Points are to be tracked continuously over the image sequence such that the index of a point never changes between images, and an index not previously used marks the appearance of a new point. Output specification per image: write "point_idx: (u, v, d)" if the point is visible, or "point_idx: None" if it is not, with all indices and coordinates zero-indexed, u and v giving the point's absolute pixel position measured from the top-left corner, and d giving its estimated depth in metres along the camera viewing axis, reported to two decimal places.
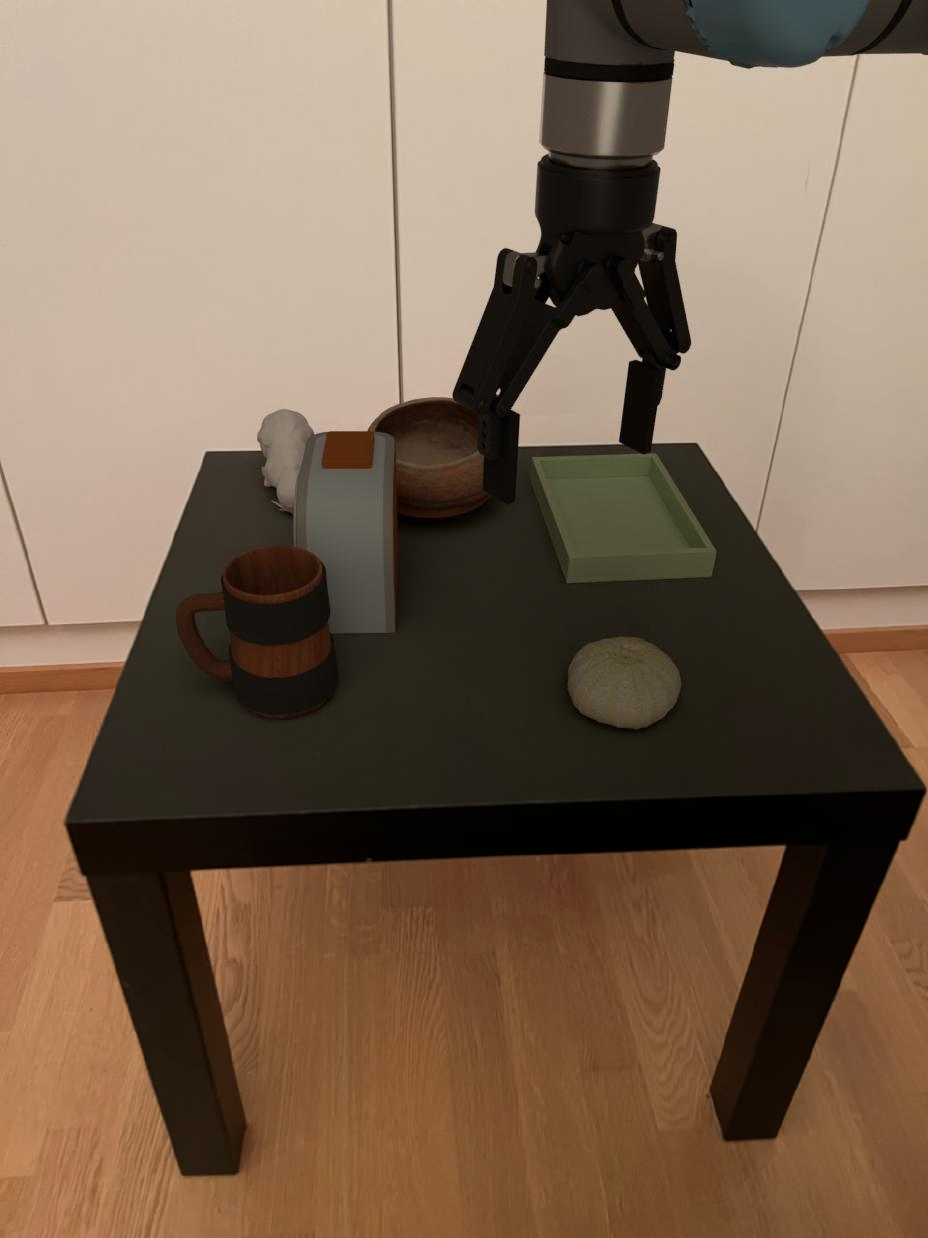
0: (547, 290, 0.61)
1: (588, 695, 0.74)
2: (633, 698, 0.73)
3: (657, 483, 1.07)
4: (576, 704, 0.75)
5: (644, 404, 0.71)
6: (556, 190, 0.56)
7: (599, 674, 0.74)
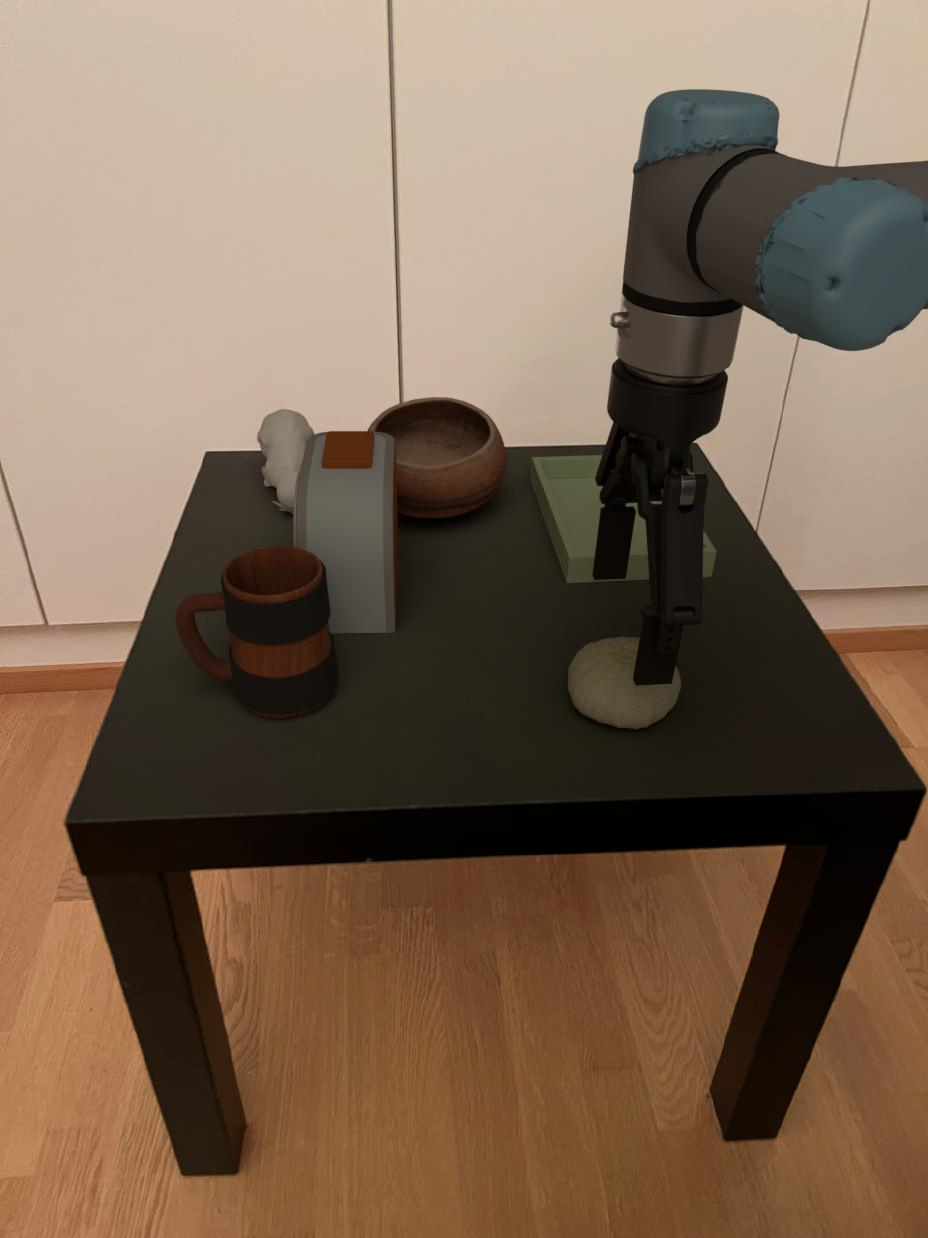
0: (658, 491, 0.64)
1: (588, 695, 0.74)
2: (633, 698, 0.73)
3: None
4: (576, 704, 0.75)
5: (624, 539, 0.77)
6: (689, 409, 0.59)
7: (599, 674, 0.74)
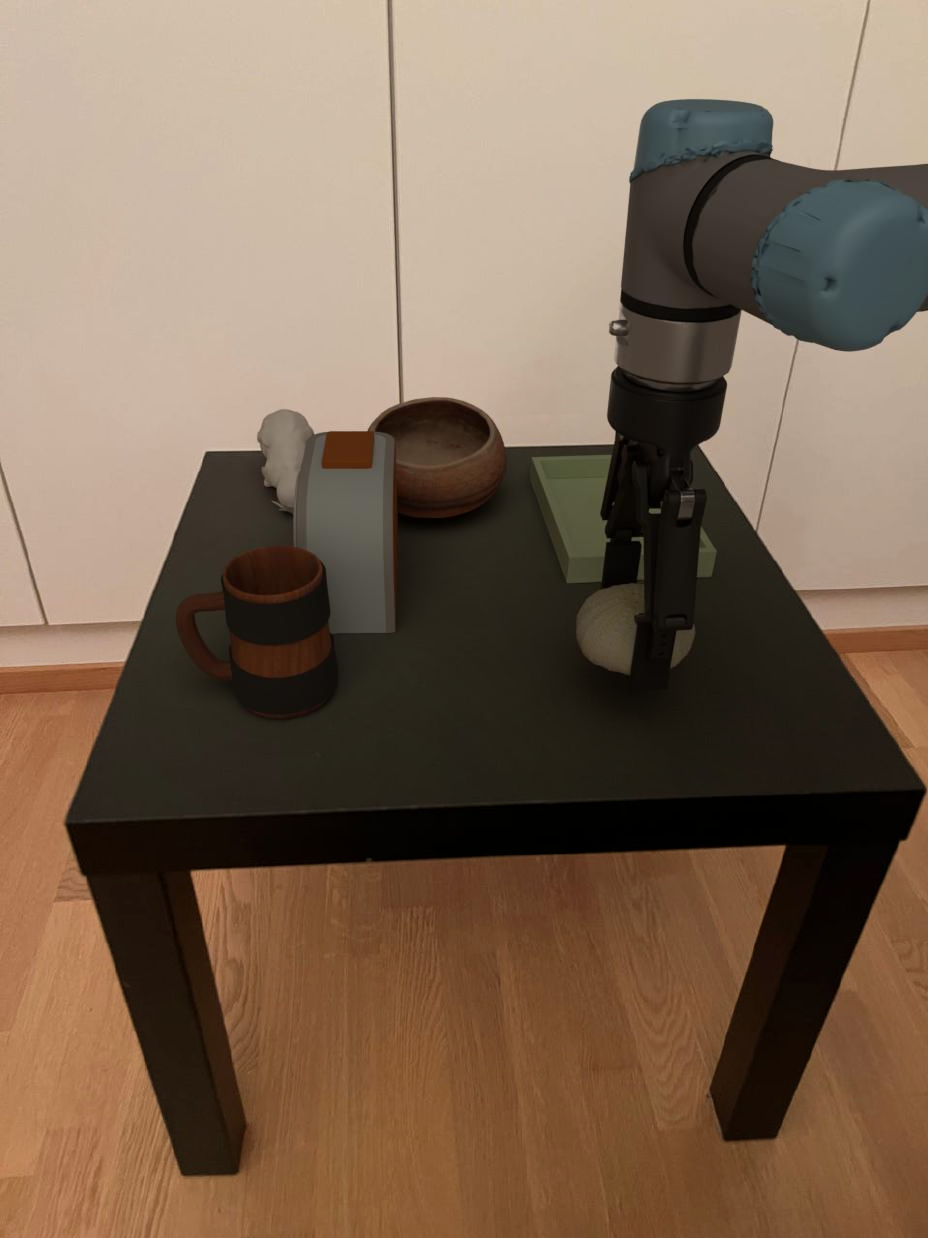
0: (659, 498, 0.64)
1: (598, 641, 0.71)
2: None
3: None
4: (586, 652, 0.72)
5: (630, 574, 0.76)
6: (689, 415, 0.60)
7: (609, 619, 0.71)
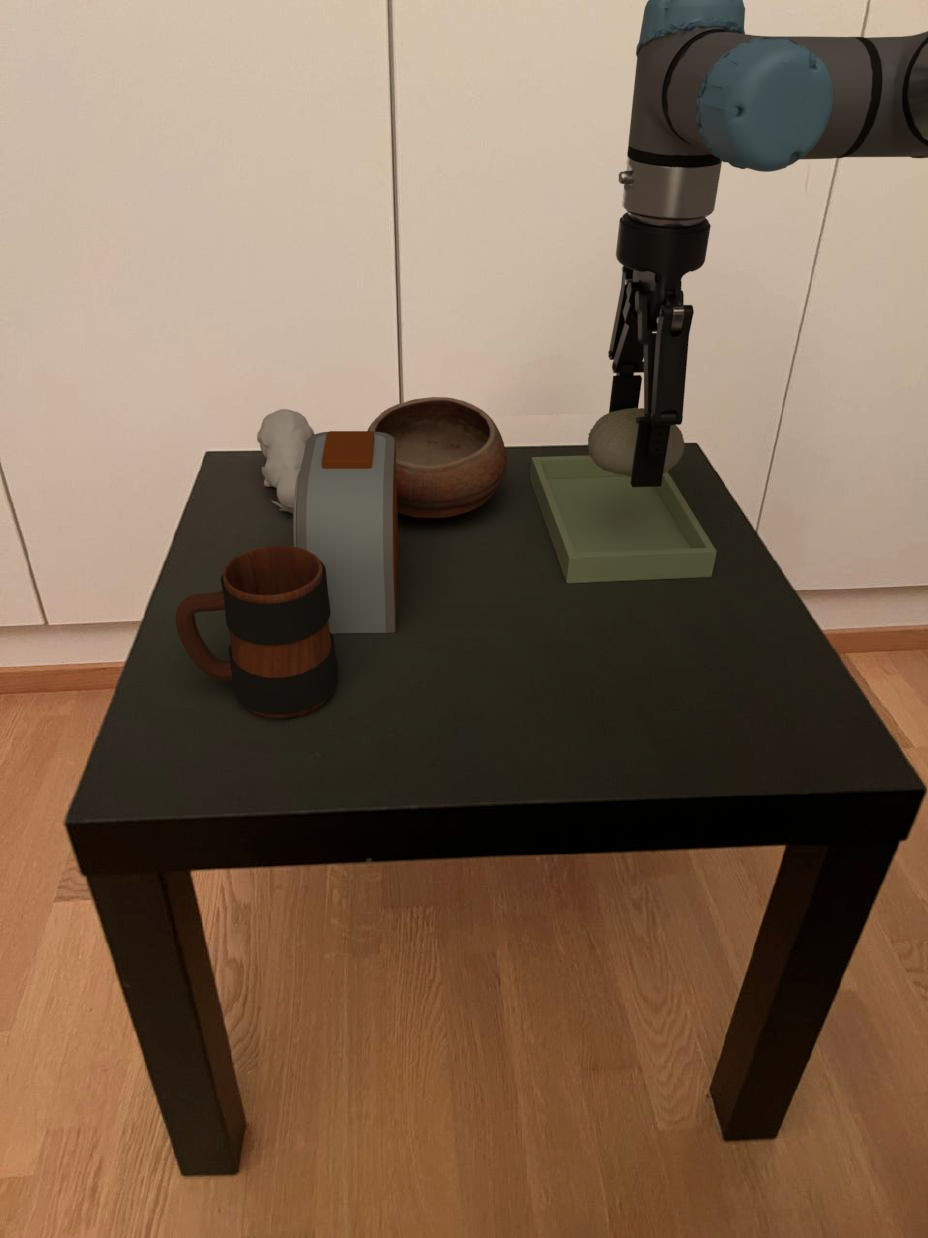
0: (657, 319, 0.81)
1: (606, 447, 0.88)
2: None
3: None
4: (596, 458, 0.89)
5: (632, 404, 0.93)
6: (680, 246, 0.77)
7: (615, 429, 0.88)
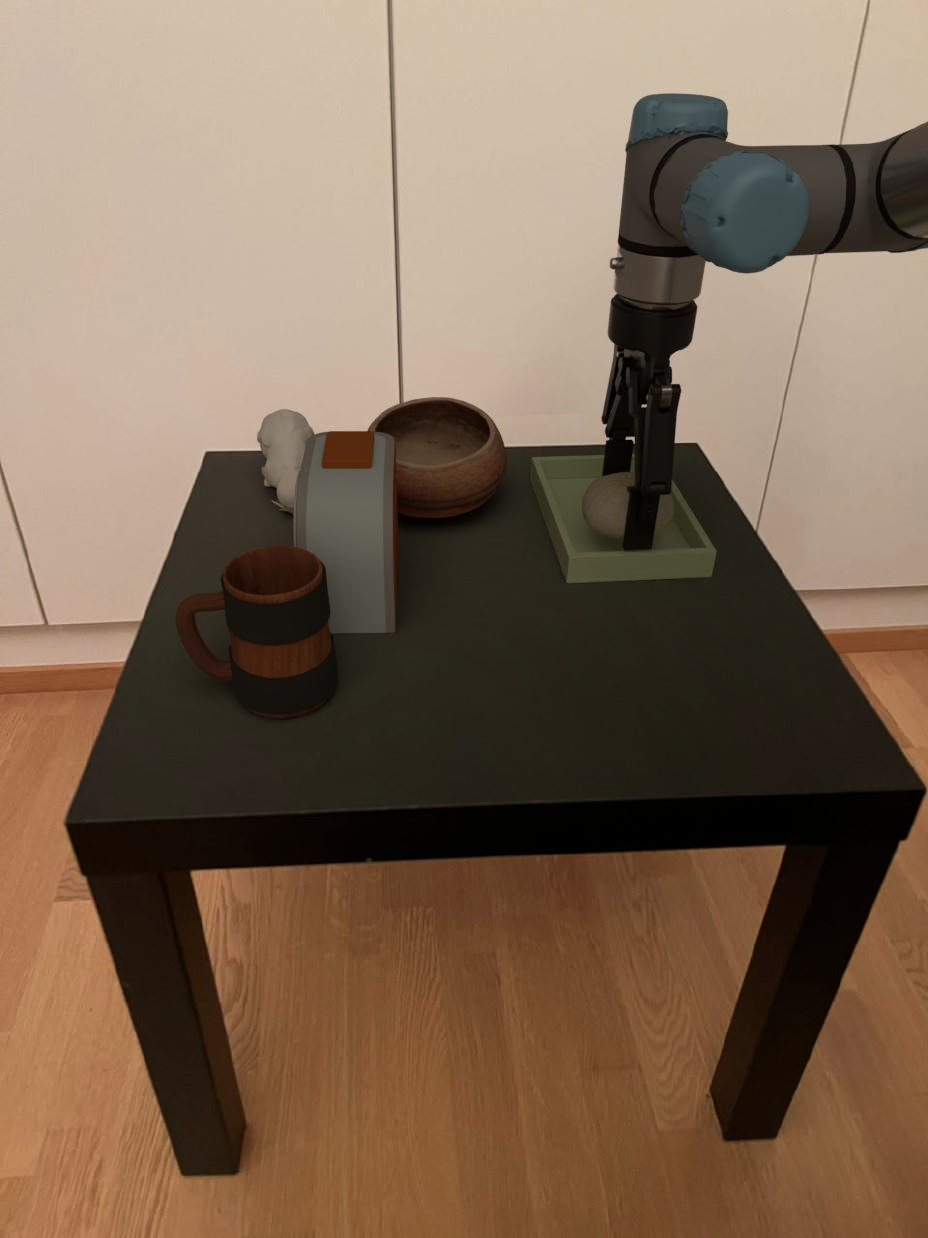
0: (646, 395, 0.85)
1: (599, 512, 0.91)
2: None
3: None
4: (589, 521, 0.93)
5: (624, 466, 0.97)
6: (668, 328, 0.80)
7: (608, 495, 0.92)
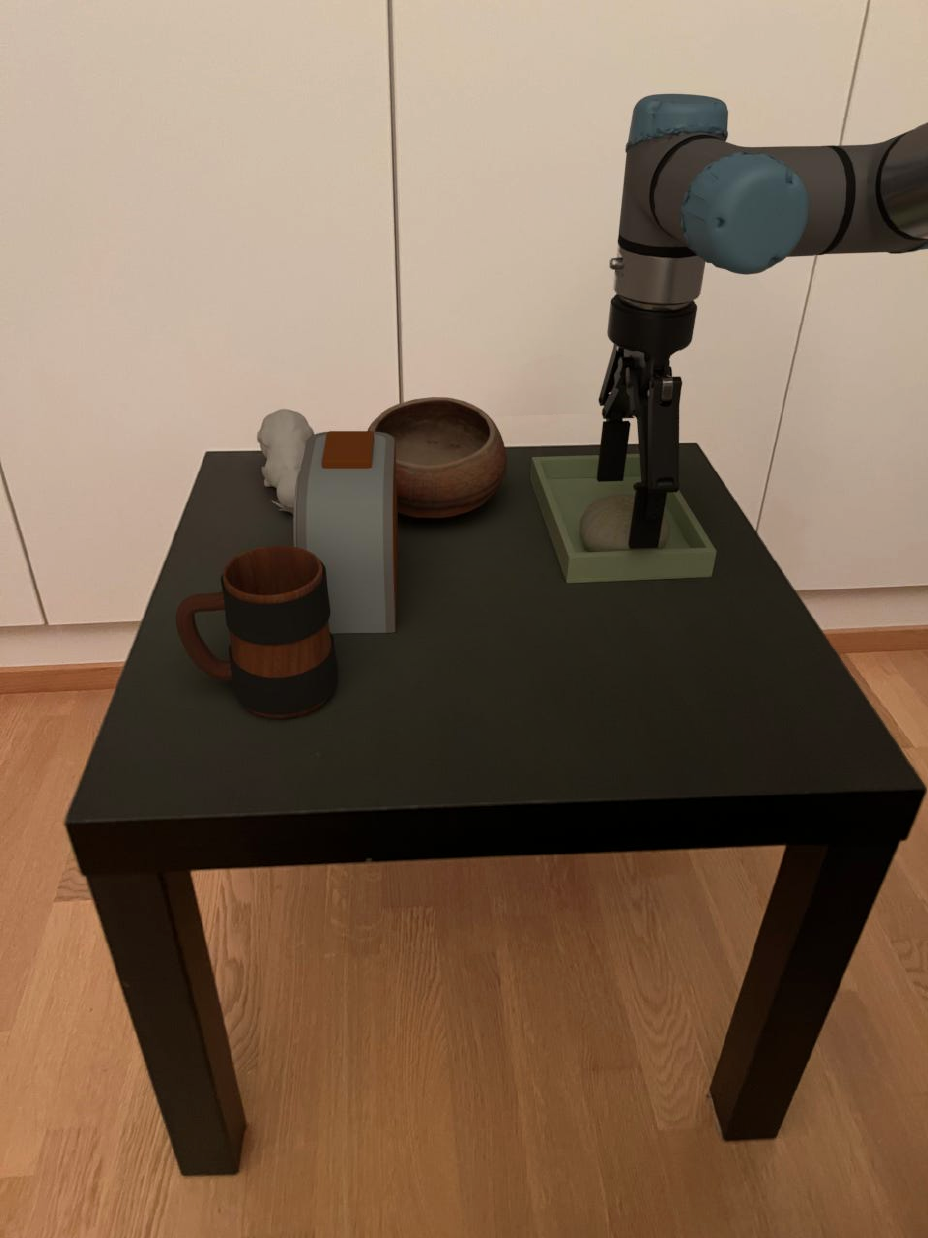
0: (646, 395, 0.85)
1: (596, 534, 0.93)
2: None
3: None
4: (587, 543, 0.94)
5: (621, 447, 0.98)
6: (668, 329, 0.81)
7: (605, 518, 0.93)
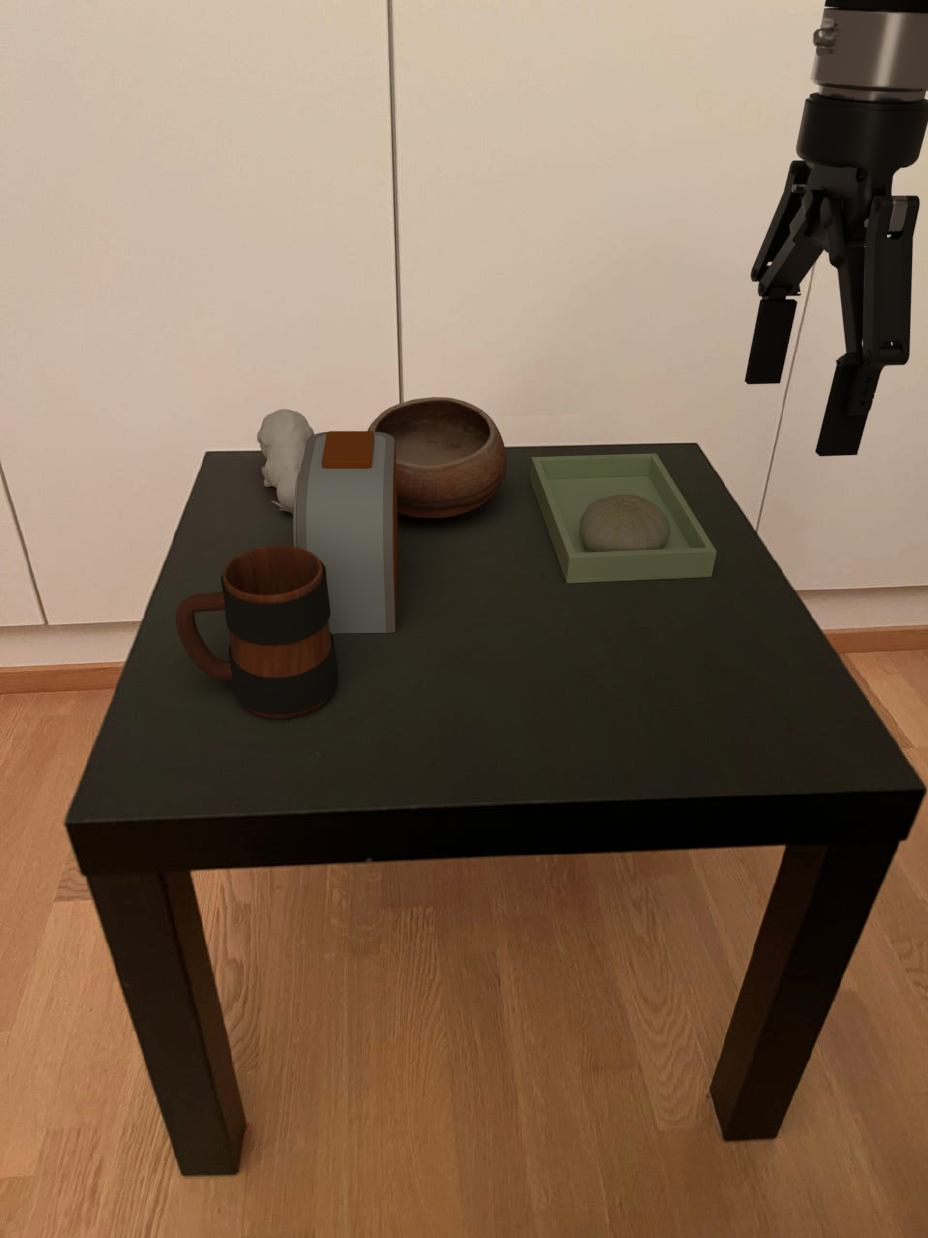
0: (853, 234, 0.61)
1: (596, 534, 0.93)
2: (632, 534, 0.92)
3: (657, 483, 1.07)
4: (587, 543, 0.94)
5: (782, 336, 0.74)
6: (898, 128, 0.57)
7: (605, 518, 0.93)
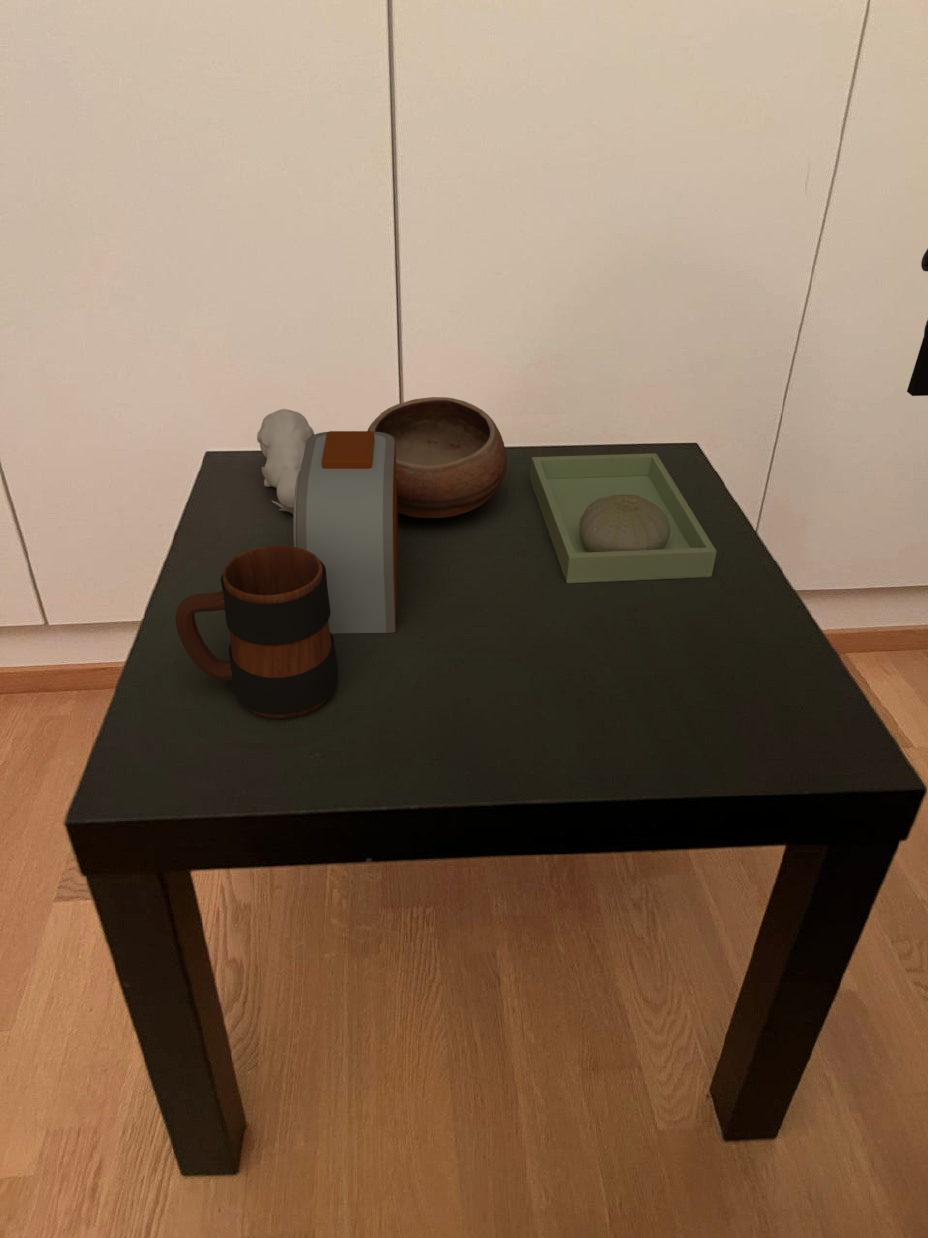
0: None
1: (596, 534, 0.93)
2: (632, 534, 0.92)
3: (657, 483, 1.07)
4: (587, 544, 0.94)
5: None
6: None
7: (605, 518, 0.93)
